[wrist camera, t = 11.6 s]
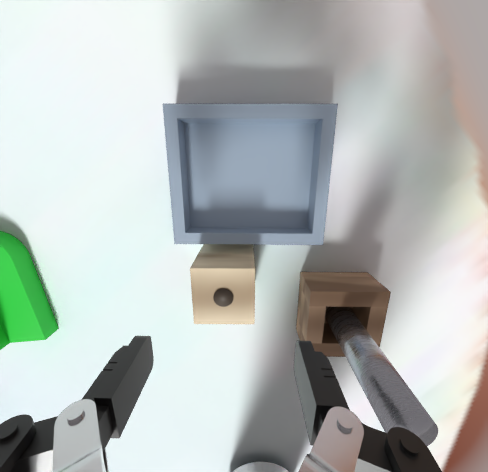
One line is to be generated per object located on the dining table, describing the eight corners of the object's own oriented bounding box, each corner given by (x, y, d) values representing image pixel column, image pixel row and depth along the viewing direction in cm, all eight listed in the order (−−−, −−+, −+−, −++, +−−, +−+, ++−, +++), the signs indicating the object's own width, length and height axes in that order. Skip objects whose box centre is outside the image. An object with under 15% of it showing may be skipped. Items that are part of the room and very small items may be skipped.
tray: (313, 235, 23) (322, 244, 20) (183, 234, 23) (174, 243, 20) (324, 113, 20) (337, 103, 17) (174, 113, 20) (162, 103, 17)
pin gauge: (344, 318, 25) (431, 451, 13) (320, 318, 25) (385, 450, 13) (348, 296, 24) (443, 417, 12) (322, 296, 24) (394, 416, 12)
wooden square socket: (358, 329, 26) (377, 357, 22) (296, 328, 26) (304, 356, 22) (367, 272, 24) (390, 292, 20) (300, 272, 24) (310, 291, 20)
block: (252, 288, 25) (254, 325, 19) (206, 287, 25) (193, 324, 19) (253, 244, 23) (255, 269, 18) (203, 244, 24) (189, 268, 18)
